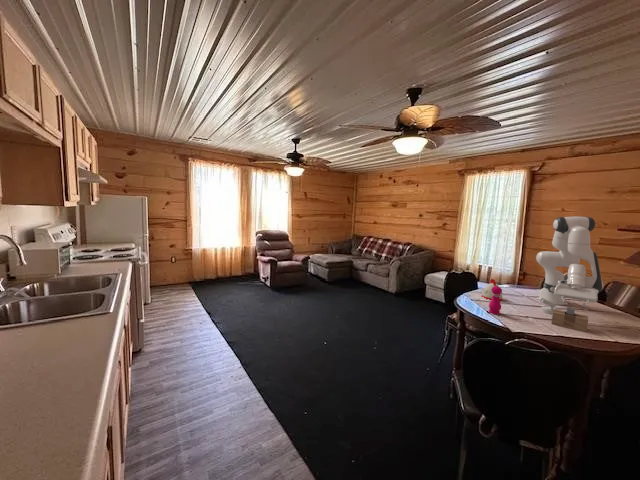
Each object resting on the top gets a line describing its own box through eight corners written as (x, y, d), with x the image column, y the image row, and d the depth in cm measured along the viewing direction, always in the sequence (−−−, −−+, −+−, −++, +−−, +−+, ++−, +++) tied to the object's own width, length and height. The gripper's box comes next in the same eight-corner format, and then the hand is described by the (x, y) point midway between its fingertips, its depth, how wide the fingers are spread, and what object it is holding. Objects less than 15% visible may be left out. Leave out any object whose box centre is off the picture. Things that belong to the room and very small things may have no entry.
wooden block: (552, 320, 182) (553, 308, 181) (585, 327, 172) (587, 315, 171) (551, 323, 176) (552, 312, 175) (586, 331, 166) (588, 319, 165)
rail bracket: (564, 322, 176) (567, 307, 175) (572, 324, 174) (574, 308, 173) (564, 324, 173) (567, 308, 172) (572, 326, 171) (574, 310, 170)
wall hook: (537, 296, 201) (553, 297, 199) (536, 309, 202) (552, 310, 200) (544, 300, 192) (561, 301, 190) (542, 313, 194) (559, 315, 192)
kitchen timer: (496, 295, 230) (498, 277, 228) (505, 301, 217) (507, 282, 215) (478, 294, 232) (480, 276, 230) (486, 300, 218) (488, 281, 216)
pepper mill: (485, 311, 195) (488, 282, 193) (495, 310, 196) (498, 282, 193) (492, 315, 188) (495, 285, 186) (503, 315, 189) (506, 285, 186)
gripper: (597, 291, 175) (597, 311, 169) (555, 285, 189) (553, 303, 183) (599, 285, 172) (598, 305, 166) (555, 280, 185) (553, 298, 179)
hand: (574, 304), depth 174 cm, fingers open, 8 cm apart
